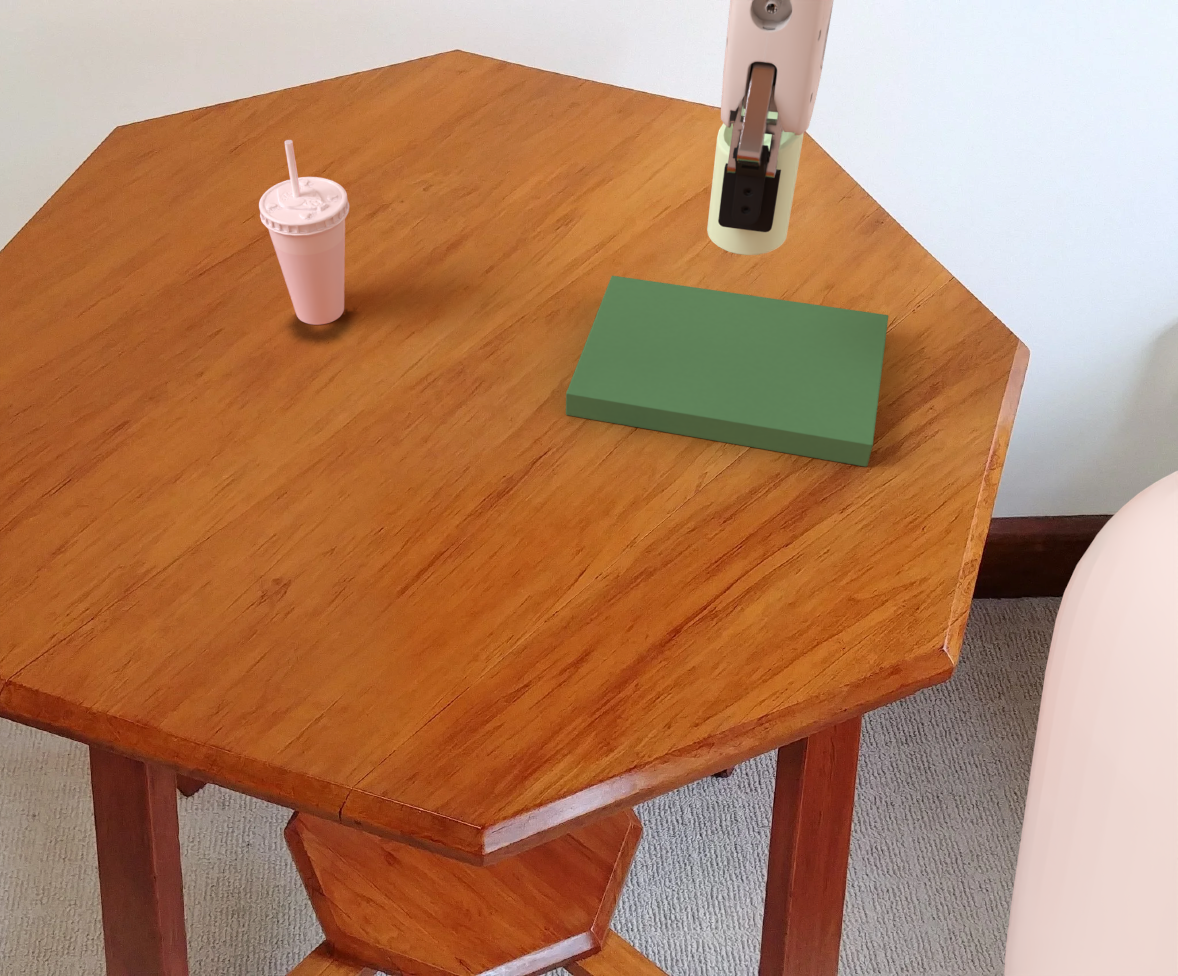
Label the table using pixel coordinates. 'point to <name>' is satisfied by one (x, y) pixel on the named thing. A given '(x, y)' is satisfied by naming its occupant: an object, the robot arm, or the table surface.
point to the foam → (733, 369)
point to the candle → (788, 164)
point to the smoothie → (309, 241)
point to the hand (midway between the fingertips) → (751, 201)
